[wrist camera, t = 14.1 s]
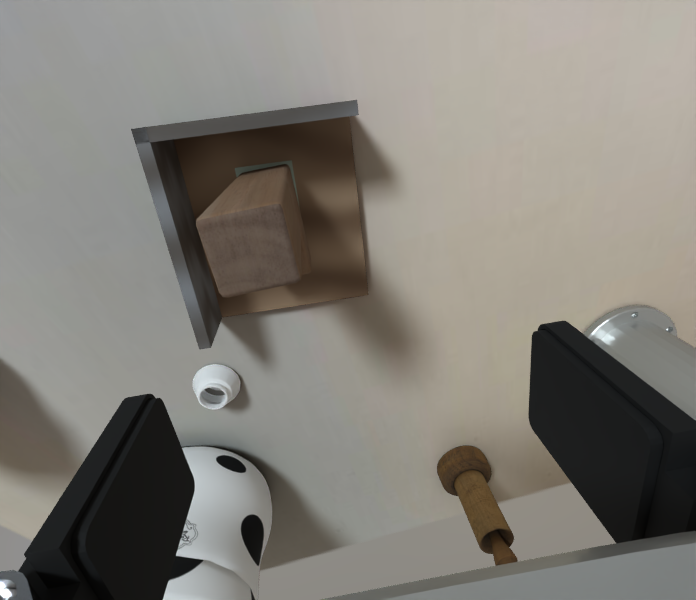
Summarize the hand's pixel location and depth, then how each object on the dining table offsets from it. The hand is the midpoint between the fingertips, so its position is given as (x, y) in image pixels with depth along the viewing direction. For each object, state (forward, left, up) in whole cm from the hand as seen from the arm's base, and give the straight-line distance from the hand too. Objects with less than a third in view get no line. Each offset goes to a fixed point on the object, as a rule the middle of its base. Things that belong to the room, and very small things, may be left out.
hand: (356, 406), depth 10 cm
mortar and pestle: (-38, -14, -32) cm, 51 cm away
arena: (-2, +4, -32) cm, 32 cm away
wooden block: (-1, +4, -31) cm, 31 cm away
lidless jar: (-19, +14, -32) cm, 39 cm away
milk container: (-34, +19, -32) cm, 50 cm away
